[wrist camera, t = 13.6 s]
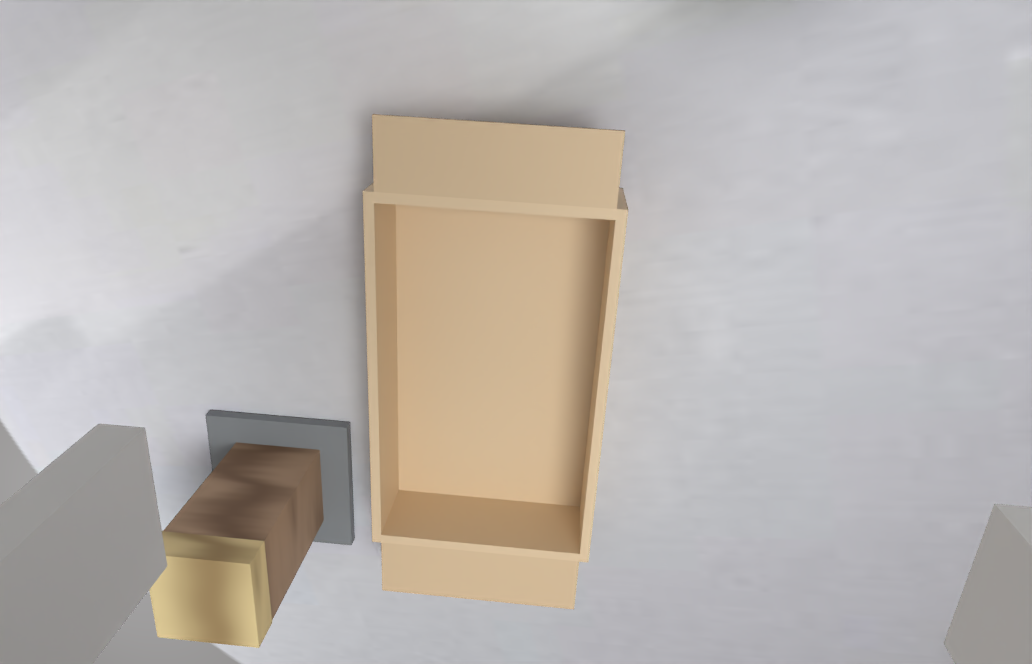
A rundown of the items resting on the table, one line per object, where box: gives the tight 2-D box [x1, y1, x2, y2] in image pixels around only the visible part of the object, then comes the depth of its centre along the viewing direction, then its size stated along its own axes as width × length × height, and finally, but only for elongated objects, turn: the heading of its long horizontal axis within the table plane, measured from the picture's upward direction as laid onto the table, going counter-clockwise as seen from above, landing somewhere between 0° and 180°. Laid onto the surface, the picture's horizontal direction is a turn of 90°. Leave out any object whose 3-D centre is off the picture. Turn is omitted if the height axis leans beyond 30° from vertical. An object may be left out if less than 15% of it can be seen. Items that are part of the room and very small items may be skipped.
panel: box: [206, 410, 355, 545], centre depth 54 cm, size 10×10×1 cm
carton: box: [363, 114, 628, 609], centre depth 46 cm, size 31×14×6 cm, turn 177°
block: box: [150, 442, 324, 648], centre depth 48 cm, size 6×6×12 cm
